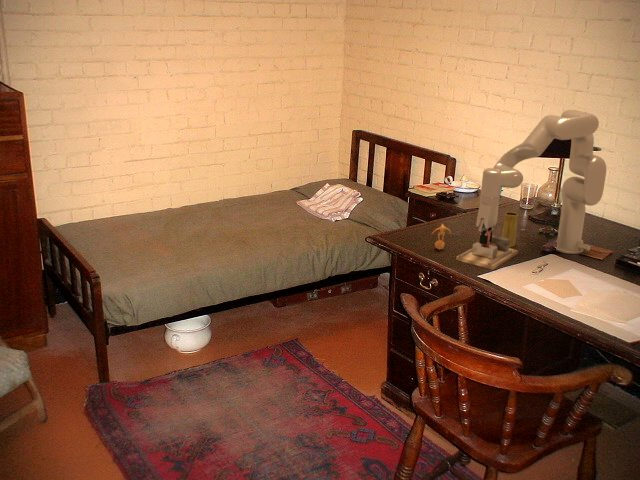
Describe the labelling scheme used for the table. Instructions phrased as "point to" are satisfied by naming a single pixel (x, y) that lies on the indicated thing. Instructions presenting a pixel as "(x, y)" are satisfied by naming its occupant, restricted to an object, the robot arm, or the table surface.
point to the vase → (510, 227)
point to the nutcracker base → (502, 256)
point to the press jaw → (485, 249)
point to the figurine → (439, 243)
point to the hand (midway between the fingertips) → (485, 242)
